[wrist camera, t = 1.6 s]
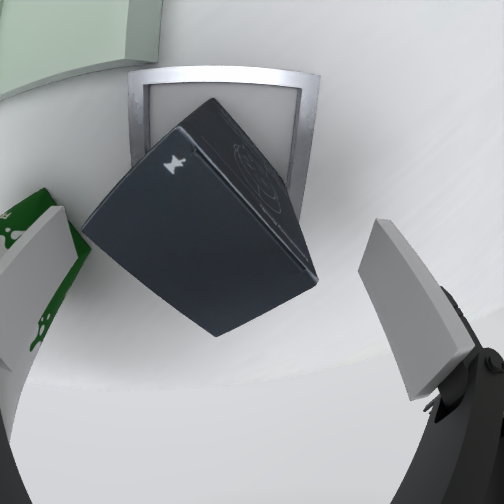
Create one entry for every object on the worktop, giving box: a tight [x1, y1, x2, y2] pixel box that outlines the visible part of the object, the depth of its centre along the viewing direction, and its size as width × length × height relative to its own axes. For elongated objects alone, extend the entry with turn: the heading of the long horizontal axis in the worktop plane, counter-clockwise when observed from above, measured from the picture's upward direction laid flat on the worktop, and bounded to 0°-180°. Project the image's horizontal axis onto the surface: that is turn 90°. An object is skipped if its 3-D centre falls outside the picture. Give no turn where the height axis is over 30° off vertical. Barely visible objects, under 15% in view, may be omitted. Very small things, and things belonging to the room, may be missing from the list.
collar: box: [128, 66, 320, 222], centre depth 18 cm, size 12×14×1 cm
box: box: [81, 98, 319, 337], centre depth 14 cm, size 8×6×11 cm
